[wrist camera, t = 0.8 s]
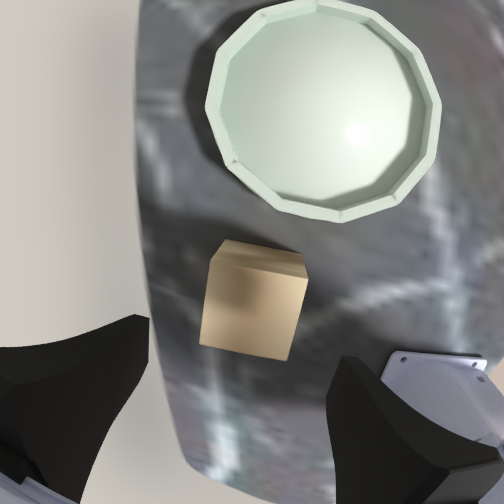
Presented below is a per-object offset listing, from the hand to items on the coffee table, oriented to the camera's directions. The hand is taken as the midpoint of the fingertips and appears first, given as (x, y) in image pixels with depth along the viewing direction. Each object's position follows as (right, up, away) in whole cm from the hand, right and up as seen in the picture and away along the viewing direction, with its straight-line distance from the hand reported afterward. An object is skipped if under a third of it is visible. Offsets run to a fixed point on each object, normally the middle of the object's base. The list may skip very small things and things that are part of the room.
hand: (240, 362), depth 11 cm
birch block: (+1, +2, +8) cm, 8 cm away
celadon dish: (+5, +12, +5) cm, 14 cm away
